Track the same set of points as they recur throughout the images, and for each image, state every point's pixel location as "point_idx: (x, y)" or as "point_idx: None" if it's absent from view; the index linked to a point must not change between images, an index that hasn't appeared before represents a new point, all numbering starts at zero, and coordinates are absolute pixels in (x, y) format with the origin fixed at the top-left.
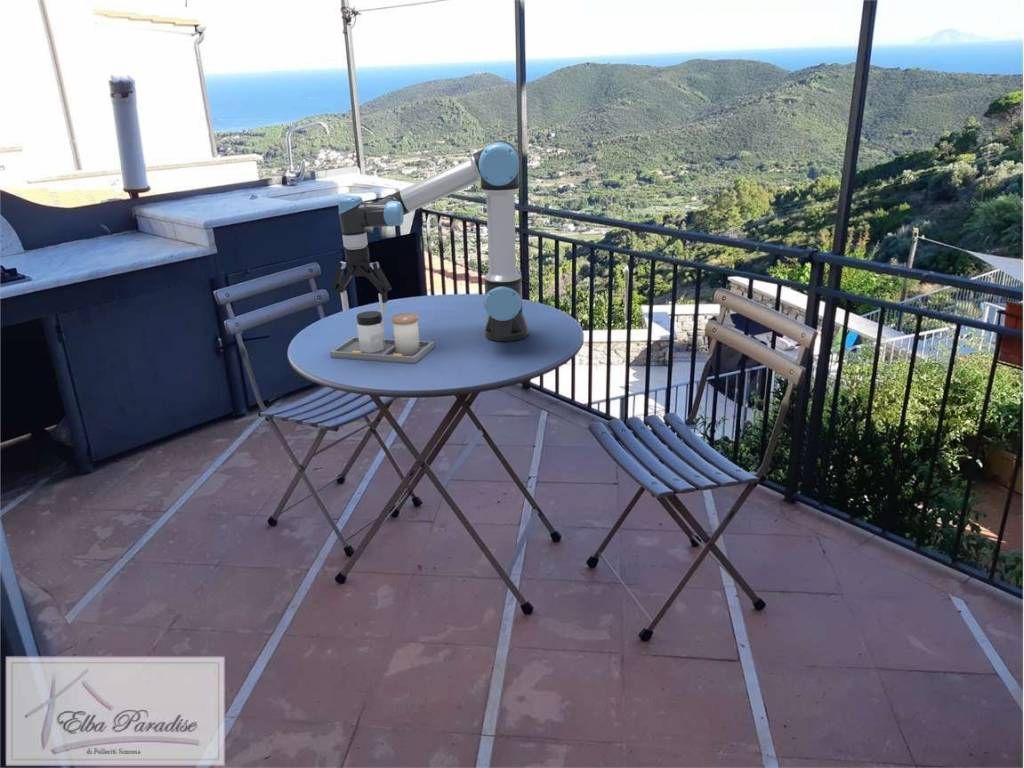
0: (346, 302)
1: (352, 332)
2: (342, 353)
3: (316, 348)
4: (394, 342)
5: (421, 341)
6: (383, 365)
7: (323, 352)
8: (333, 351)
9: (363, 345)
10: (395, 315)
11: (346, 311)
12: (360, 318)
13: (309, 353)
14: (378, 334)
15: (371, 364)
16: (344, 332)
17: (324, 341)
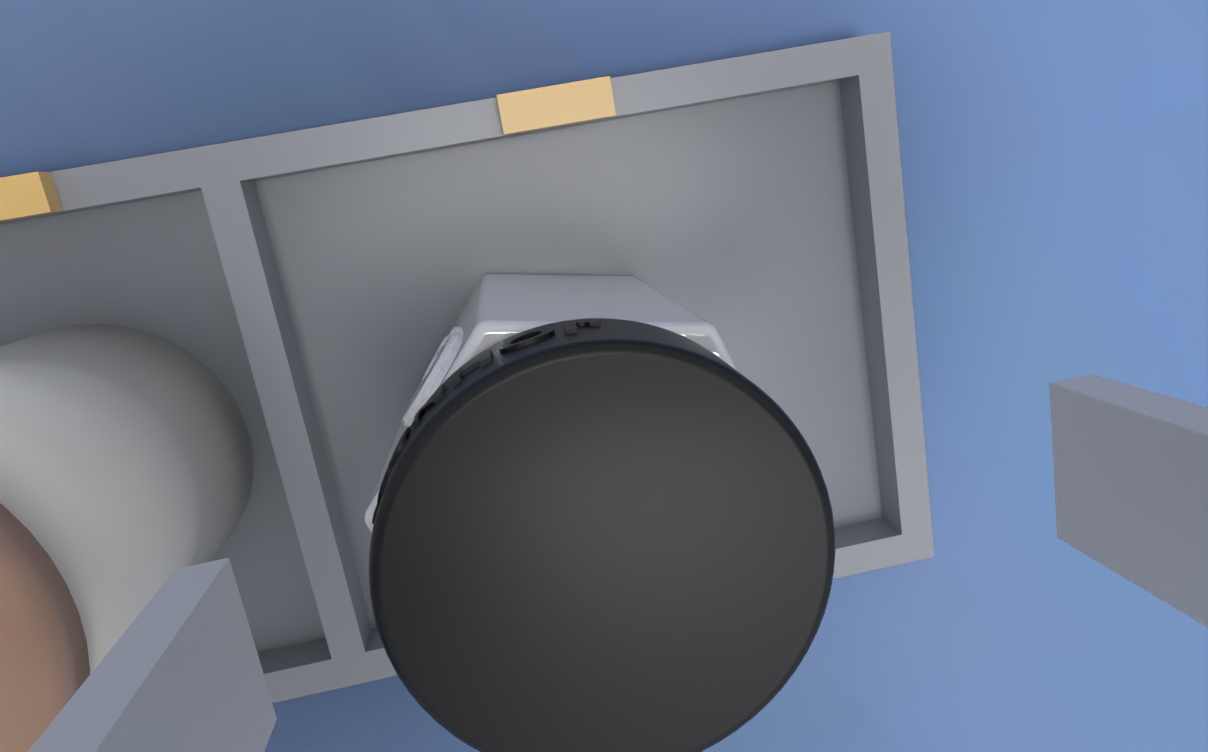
0: (1194, 547)
1: (1078, 740)
2: (729, 60)
3: (1163, 235)
4: None
5: None
6: (122, 38)
7: (1028, 158)
8: (859, 58)
9: (586, 282)
10: (12, 695)
11: (1053, 434)
12: (635, 338)
13: (1151, 77)
14: (405, 415)
15: (281, 16)
16: (1150, 711)
17: None
